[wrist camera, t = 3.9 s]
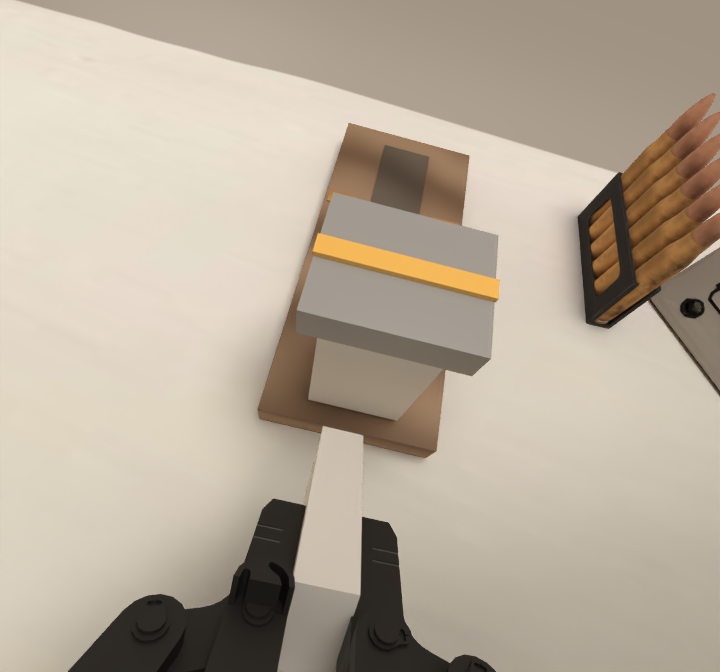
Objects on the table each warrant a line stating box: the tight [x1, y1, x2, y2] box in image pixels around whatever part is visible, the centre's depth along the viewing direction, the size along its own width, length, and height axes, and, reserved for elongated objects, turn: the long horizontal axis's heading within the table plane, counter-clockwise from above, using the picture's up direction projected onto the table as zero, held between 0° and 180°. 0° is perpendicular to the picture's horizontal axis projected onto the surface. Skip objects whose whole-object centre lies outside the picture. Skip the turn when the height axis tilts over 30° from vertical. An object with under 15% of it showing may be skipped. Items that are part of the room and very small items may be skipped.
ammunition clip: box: [578, 93, 720, 329], centre depth 29 cm, size 11×2×12 cm, turn 170°
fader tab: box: [296, 192, 500, 421], centre depth 19 cm, size 5×6×11 cm
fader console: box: [258, 123, 469, 458], centre depth 30 cm, size 24×10×2 cm, turn 169°
